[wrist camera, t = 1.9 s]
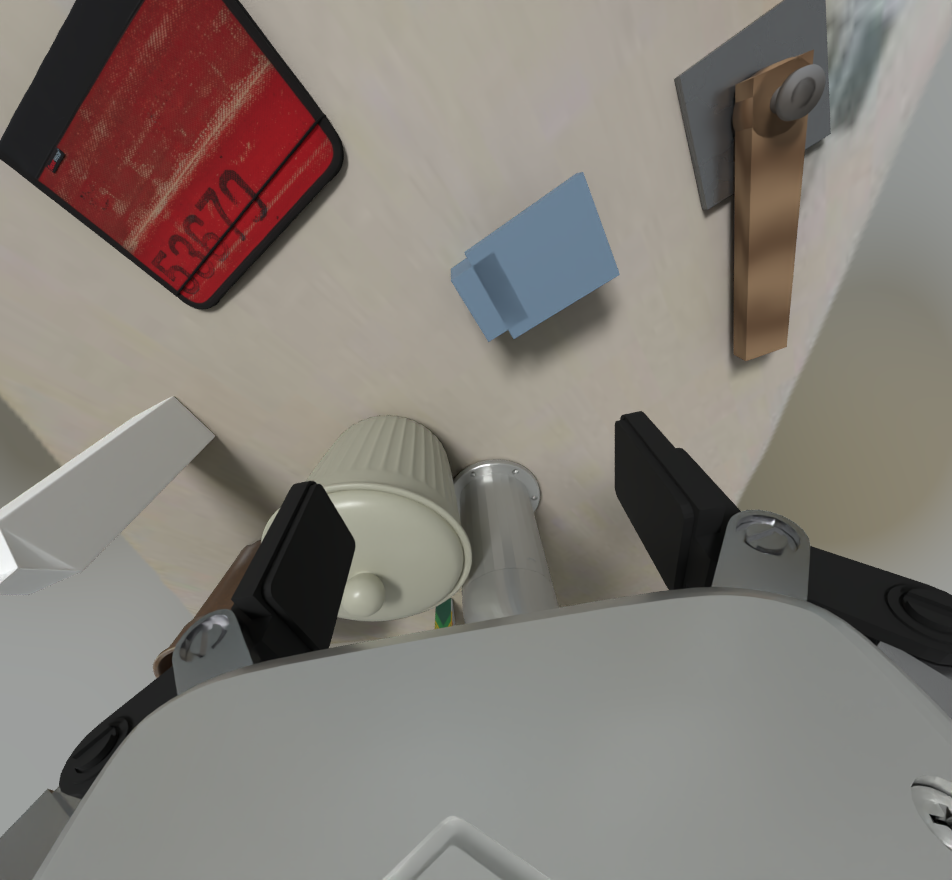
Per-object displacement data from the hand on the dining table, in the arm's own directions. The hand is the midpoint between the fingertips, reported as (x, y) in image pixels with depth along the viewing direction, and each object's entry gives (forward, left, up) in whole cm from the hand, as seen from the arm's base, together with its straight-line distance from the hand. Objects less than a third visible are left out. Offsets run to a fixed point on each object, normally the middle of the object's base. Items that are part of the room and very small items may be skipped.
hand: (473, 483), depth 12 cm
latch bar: (-10, -26, -28) cm, 40 cm away
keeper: (-1, -7, -29) cm, 30 cm away
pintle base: (-1, -27, -29) cm, 40 cm away
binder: (+20, +13, -30) cm, 38 cm away
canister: (-12, +18, -29) cm, 36 cm away
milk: (+5, +36, -29) cm, 46 cm away
